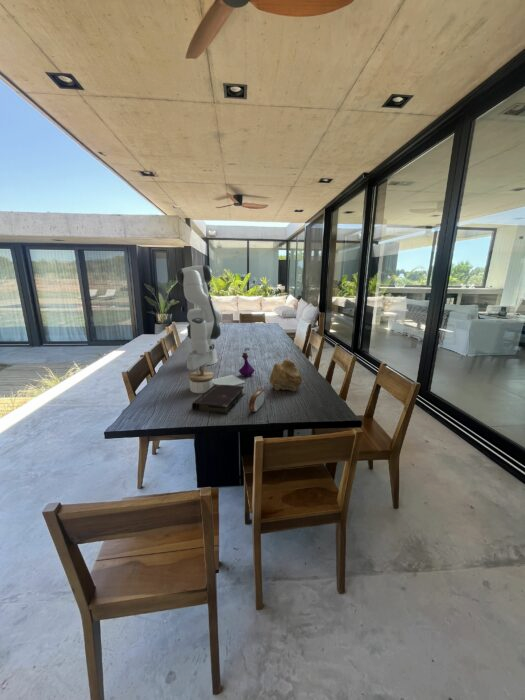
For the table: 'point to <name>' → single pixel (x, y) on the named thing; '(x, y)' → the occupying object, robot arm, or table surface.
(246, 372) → the perfume bottle
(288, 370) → the rough brown rock
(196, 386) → the bowl
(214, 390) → the diary
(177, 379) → the table surface
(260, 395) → the tin
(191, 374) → the lid
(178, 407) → the table surface
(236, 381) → the trivet
